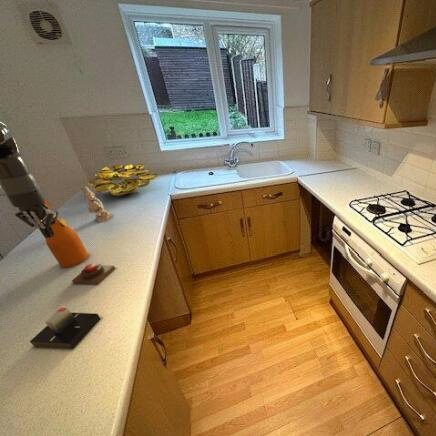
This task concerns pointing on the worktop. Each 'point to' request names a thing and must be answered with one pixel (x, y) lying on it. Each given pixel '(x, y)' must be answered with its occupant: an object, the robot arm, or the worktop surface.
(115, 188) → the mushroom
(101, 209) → the figurine
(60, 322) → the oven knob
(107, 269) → the button block
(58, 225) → the wine bottle
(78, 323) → the panel
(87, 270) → the button
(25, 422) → the worktop surface
